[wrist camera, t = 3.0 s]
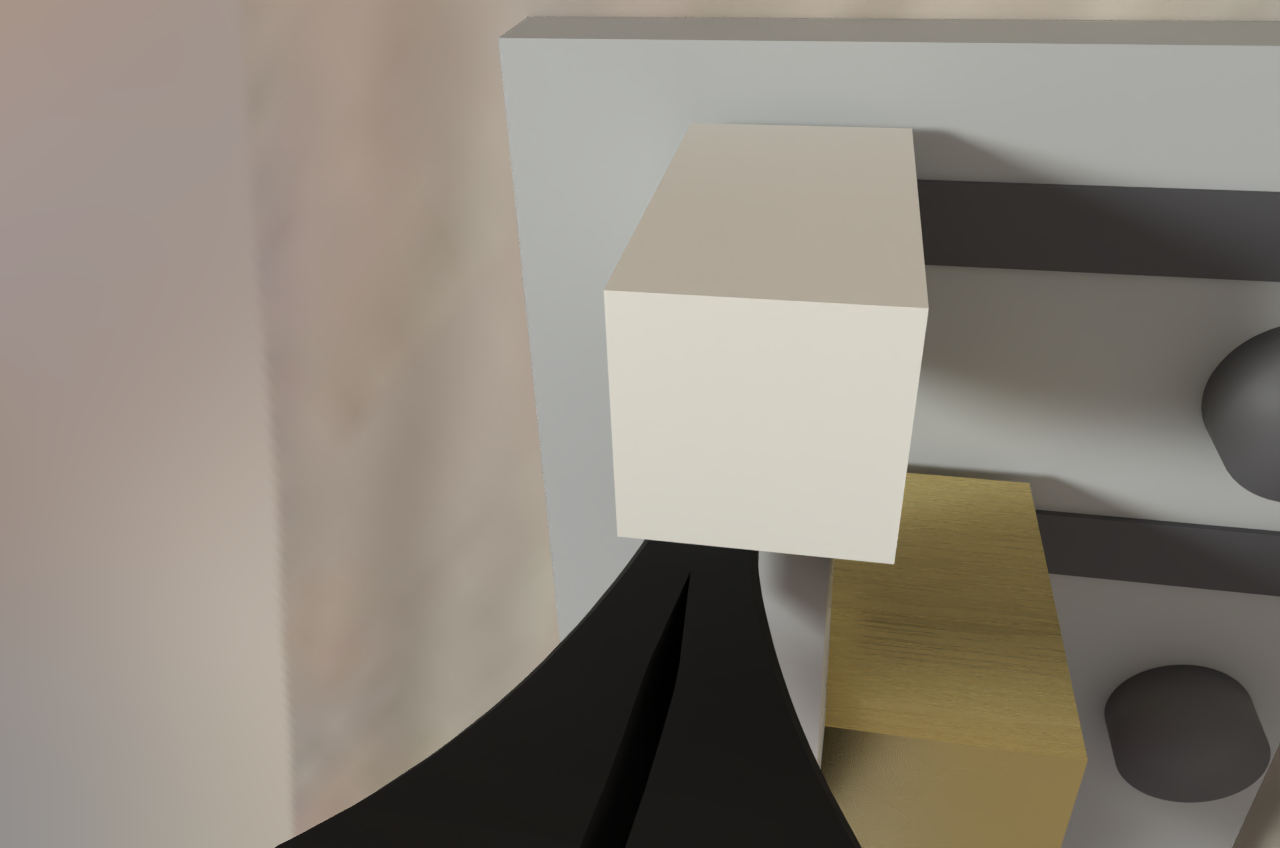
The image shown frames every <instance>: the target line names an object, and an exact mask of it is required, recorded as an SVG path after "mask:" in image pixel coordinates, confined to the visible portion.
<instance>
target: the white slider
mask: <svg viewBox="0 0 1280 848" xmlns="http://www.w3.org/2000/svg"><path fill="white" fill-rule="evenodd" d="M604 306H605V324H606V342H607V360H608V378H609V395H610V413H611V431H612V449H613V467H614V485H615V503H616V520H617V537H627V538H637V539H647V540H657V541H667V542H677V543H687V544H697V545H707V546H717V547H727V548H737V549H747V550H756V551H766V552H776V553H786V554H796V555H806V556H816V557H826V558H836V559H846V560H856V561H866V562H876V563H886V564H894V562H895V555H896V547H897V540H898V532H899V525H900V517H901V510H902V503H903V495H904V488H905V480H906V473H907V466H908V458H909V451H910V443H911V436H912V429H913V421H914V414H915V406H916V399H917V392H918V384H919V377H920V369H921V362H922V355H923V347H924V340H925V332H926V325H927V318H928V310H929V306H928V295H927V284H926V273H925V263H924V252H923V241H922V230H921V220H920V209H919V198H918V187H917V177H916V166H915V155H914V144H913V133H912V128H880V127H840V126H800V125H760V124H720V123H691V124H690V126H689V128H688V130H687V132H686V134H685V136H684V138H683V140H682V142H681V143H680V145H679V147H678V149H677V151H676V153H675V155H674V157H673V159H672V161H671V163H670V164H669V166H668V168H667V170H666V172H665V174H664V176H663V178H662V180H661V182H660V184H659V185H658V187H657V189H656V191H655V193H654V195H653V197H652V199H651V201H650V203H649V205H648V206H647V208H646V210H645V212H644V214H643V216H642V218H641V220H640V222H639V224H638V226H637V227H636V229H635V231H634V233H633V235H632V237H631V239H630V241H629V243H628V245H627V247H626V248H625V250H624V252H623V254H622V256H621V258H620V260H619V262H618V264H617V266H616V268H615V269H614V271H613V273H612V275H611V277H610V279H609V281H608V283H607V285H606V287H605V289H604Z"/></svg>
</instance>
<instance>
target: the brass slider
mask: <svg viewBox="0 0 1280 848" xmlns="http://www.w3.org/2000/svg"><path fill="white" fill-rule="evenodd" d="M1087 762H1088V759H1087V754H1086V749H1085V744H1084V740H1083V735H1082V730H1081V725H1080V721H1079V716H1078V711H1077V706H1076V702H1075V697H1074V692H1073V687H1072V683H1071V678H1070V673H1069V668H1068V664H1067V659H1066V654H1065V649H1064V645H1063V640H1062V635H1061V630H1060V626H1059V621H1058V616H1057V611H1056V607H1055V602H1054V597H1053V593H1052V588H1051V583H1050V578H1049V574H1048V569H1047V564H1046V559H1045V555H1044V550H1043V545H1042V540H1041V536H1040V531H1039V526H1038V521H1037V517H1036V512H1035V507H1034V502H1033V498H1032V493H1031V488H1030V483H1022V482H1010V481H999V480H987V479H975V478H963V477H951V476H939V475H928V474H916V473H906V480H905V488H904V495H903V503H902V510H901V517H900V525H899V532H898V540H897V547H896V555H895V562H894V564H886V563H876V562H866V561H856V560H846V559H836V558H831V562H830V573H829V584H828V595H827V608H826V625H825V641H824V657H823V673H822V690H821V706H820V722H819V738H818V754H817V763H818V765H819V767H820V769H821V771H822V773H823V776H824V778H825V780H826V782H827V784H828V786H829V788H830V790H831V792H832V794H833V796H834V798H835V799H836V801H837V803H838V805H839V807H840V809H841V810H842V812H843V814H844V816H845V818H846V820H847V821H848V823H849V825H850V827H851V829H852V831H853V832H854V834H855V836H856V838H857V840H858V842H859V844H860V845H861V847H862V848H1061V845H1062V842H1063V839H1064V835H1065V832H1066V829H1067V826H1068V823H1069V819H1070V816H1071V813H1072V810H1073V807H1074V803H1075V800H1076V797H1077V794H1078V791H1079V787H1080V784H1081V781H1082V778H1083V775H1084V771H1085V768H1086V765H1087Z"/></svg>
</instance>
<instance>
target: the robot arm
mask: <svg viewBox="0 0 1280 848" xmlns="http://www.w3.org/2000/svg"><path fill="white" fill-rule="evenodd" d="M758 563H759V551H756V550H747V549H737V548H727V547H717V546H707V545H697V544H687V543H677V542H667V541H657V540H647V539H645V540H644V541H643V543H642V544H641V546H640V547H639V549H638V550H637V551H636V553H635V554H634V556H633V557H632V558H631V560H630V561H629V562H628V564H627V565H626V566H625V568H624V569H623V570H622V572H621V573H620V574H619V576H618V577H617V578H616V579H615V581H614V582H613V583H612V584H611V586H610V587H609V588H608V589H607V590H606V592H605V593H604V594H603V595H602V596H601V598H600V599H599V600H598V601H597V602H596V604H595V605H594V606H593V607H592V609H591V610H590V611H589V612H588V613H587V614H586V616H585V617H584V618H583V619H582V620H581V621H580V622H579V624H578V625H577V626H576V627H575V628H574V629H573V630H572V631H571V632H570V633H569V634H568V635H567V636H566V637H565V638H564V640H563V641H562V642H561V643H560V644H559V645H558V646H557V647H556V648H555V649H554V650H553V651H552V652H551V653H550V654H549V655H548V656H547V658H546V659H545V660H544V661H543V662H542V663H541V664H540V665H539V666H537V667H536V668H535V669H534V670H533V671H532V672H531V673H530V674H529V675H528V676H527V677H526V678H525V679H524V680H523V681H522V682H521V683H520V684H519V685H517V686H516V687H515V688H514V689H513V690H512V691H511V692H510V693H508V694H507V695H506V696H505V697H504V698H503V699H502V700H501V701H499V702H498V703H497V704H496V705H495V706H494V707H492V708H491V709H490V710H489V711H488V712H486V713H485V714H484V715H483V716H481V717H480V718H479V719H478V720H476V721H475V722H474V723H473V724H471V725H470V726H469V727H468V728H466V729H465V730H464V731H463V732H461V733H460V734H459V735H458V736H456V737H455V738H454V739H452V740H451V741H450V742H448V743H447V744H446V745H444V746H443V747H442V748H440V749H439V750H438V751H436V752H435V753H433V754H432V755H431V756H429V757H428V758H426V759H425V760H423V761H422V762H420V763H419V764H417V765H416V766H414V767H413V768H411V769H410V770H408V771H407V772H405V773H404V774H402V775H401V776H399V777H398V778H396V779H395V780H393V781H391V782H390V783H388V784H387V785H385V786H384V787H382V788H381V789H379V790H378V791H376V792H375V793H373V794H372V795H370V796H368V797H367V798H365V799H363V800H362V801H360V802H359V803H357V804H355V805H353V806H352V807H350V808H348V809H346V810H344V811H342V812H341V813H339V814H337V815H335V816H333V817H331V818H329V819H328V820H326V821H324V822H322V823H320V824H318V825H316V826H315V827H313V828H311V829H309V830H307V831H305V832H303V833H302V834H300V835H298V836H296V837H294V838H292V839H290V840H288V841H286V842H284V843H282V844H280V845H278V846H277V847H275V848H862V847H861V845H860V844H859V842H858V840H857V838H856V836H855V834H854V832H853V831H852V829H851V827H850V825H849V823H848V821H847V820H846V818H845V816H844V814H843V812H842V810H841V809H840V807H839V805H838V803H837V801H836V799H835V798H834V796H833V794H832V792H831V790H830V788H829V786H828V784H827V782H826V780H825V778H824V776H823V773H822V771H821V769H820V767H819V765H818V763H817V761H816V758H815V756H814V754H813V752H812V750H811V747H810V745H809V743H808V740H807V738H806V736H805V733H804V731H803V728H802V726H801V724H800V721H799V718H798V716H797V713H796V711H795V708H794V705H793V703H792V700H791V697H790V695H789V692H788V689H787V686H786V683H785V680H784V677H783V674H782V671H781V668H780V664H779V661H778V658H777V654H776V651H775V648H774V644H773V640H772V636H771V632H770V628H769V624H768V620H767V616H766V612H765V607H764V602H763V597H762V591H761V584H760V577H759V568H758Z"/></svg>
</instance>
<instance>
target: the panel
mask: <svg viewBox="0 0 1280 848" xmlns="http://www.w3.org/2000/svg"><path fill="white" fill-rule="evenodd" d="M498 39H499V49H500V59H501V69H502V78H503V88H504V98H505V108H506V118H507V127H508V137H509V147H510V157H511V166H512V176H513V186H514V196H515V206H516V215H517V225H518V235H519V245H520V254H521V264H522V274H523V284H524V293H525V303H526V313H527V323H528V333H529V342H530V352H531V362H532V372H533V381H534V391H535V401H536V411H537V421H538V430H539V440H540V450H541V460H542V469H543V479H544V489H545V499H546V509H547V518H548V528H549V538H550V548H551V557H552V567H553V577H554V587H555V596H556V606H557V616H558V626H559V636H560V643H561V642H562V641H563V640H564V638H565V637H566V636H567V635H568V634H569V633H570V632H571V631H572V630H573V629H574V628H575V627H576V626H577V625H578V624H579V622H580V621H581V620H582V619H583V618H584V617H585V616H586V614H587V613H588V612H589V611H590V610H591V609H592V607H593V606H594V605H595V604H596V602H597V601H598V600H599V599H600V598H601V596H602V595H603V594H604V593H605V592H606V590H607V589H608V588H609V587H610V586H611V584H612V583H613V582H614V581H615V579H616V578H617V577H618V576H619V574H620V573H621V572H622V570H623V569H624V568H625V566H626V565H627V564H628V562H629V561H630V560H631V558H632V557H633V556H634V554H635V553H636V551H637V550H638V549H639V547H640V546H641V544H642V543H643V541H644V540H645V539H637V538H627V537H617V520H616V503H615V485H614V467H613V449H612V431H611V413H610V395H609V378H608V360H607V342H606V324H605V306H604V289H605V287H606V285H607V283H608V281H609V279H610V277H611V275H612V273H613V271H614V269H615V268H616V266H617V264H618V262H619V260H620V258H621V256H622V254H623V252H624V250H625V248H626V247H627V245H628V243H629V241H630V239H631V237H632V235H633V233H634V231H635V229H636V227H637V226H638V224H639V222H640V220H641V218H642V216H643V214H644V212H645V210H646V208H647V206H648V205H649V203H650V201H651V199H652V197H653V195H654V193H655V191H656V189H657V187H658V185H659V184H660V182H661V180H662V178H663V176H664V174H665V172H666V170H667V168H668V166H669V164H670V163H671V161H672V159H673V157H674V155H675V153H676V151H677V149H678V147H679V145H680V143H681V142H682V140H683V138H684V136H685V134H686V132H687V130H688V128H689V126H690V124H691V123H720V124H760V125H800V126H840V127H880V128H912V133H913V144H914V155H915V166H916V177H917V187H918V198H919V209H920V220H921V230H922V241H923V252H924V263H925V273H926V284H927V295H928V306H929V310H928V318H927V325H926V332H925V340H924V347H923V355H922V362H921V369H920V377H919V384H918V392H917V399H916V406H915V414H914V421H913V429H912V436H911V443H910V451H909V458H908V466H907V473H916V474H928V475H939V476H951V477H963V478H975V479H987V480H999V481H1010V482H1022V483H1030V488H1031V493H1032V498H1033V502H1034V507H1035V512H1036V517H1037V521H1038V526H1039V531H1040V536H1041V540H1042V545H1043V550H1044V555H1045V559H1046V564H1047V569H1048V574H1049V578H1050V583H1051V588H1052V593H1053V597H1054V602H1055V607H1056V611H1057V616H1058V621H1059V626H1060V630H1061V635H1062V640H1063V645H1064V649H1065V654H1066V659H1067V664H1068V668H1069V673H1070V678H1071V683H1072V687H1073V692H1074V697H1075V702H1076V706H1077V711H1078V716H1079V721H1080V725H1081V730H1082V735H1083V740H1084V744H1085V749H1086V754H1087V759H1088V762H1087V765H1086V768H1085V771H1084V775H1083V778H1082V781H1081V784H1080V787H1079V791H1078V794H1077V797H1076V800H1075V803H1074V807H1073V810H1072V813H1071V816H1070V819H1069V823H1068V826H1067V829H1066V832H1065V835H1064V839H1063V842H1062V845H1061V848H1232V847H1233V845H1234V842H1235V840H1236V838H1237V836H1238V834H1239V832H1240V829H1241V827H1242V825H1243V823H1244V821H1245V819H1246V816H1247V814H1248V812H1249V810H1250V808H1251V806H1252V803H1253V801H1254V799H1255V797H1256V795H1257V792H1258V790H1259V788H1260V786H1261V784H1262V782H1263V779H1264V777H1265V775H1266V773H1267V771H1268V769H1269V766H1270V764H1271V762H1272V760H1273V758H1274V756H1275V753H1276V751H1277V749H1278V747H1279V745H1280V21H1129V20H969V19H808V18H647V17H527V18H526V19H524V20H523V21H521V22H520V23H519V24H517V25H516V26H514V27H513V28H512V29H510V30H509V31H507V32H506V33H505V34H503V35H502V36H500V37H499V38H498ZM830 562H831V558H826V557H816V556H806V555H796V554H786V553H776V552H766V551H759V563H758V568H759V577H760V584H761V591H762V597H763V602H764V607H765V612H766V616H767V620H768V624H769V628H770V632H771V636H772V640H773V644H774V648H775V651H776V654H777V658H778V661H779V664H780V668H781V671H782V674H783V677H784V680H785V683H786V686H787V689H788V692H789V695H790V697H791V700H792V703H793V705H794V708H795V711H796V713H797V716H798V718H799V721H800V724H801V726H802V728H803V731H804V733H805V736H806V738H807V740H808V743H809V745H810V747H811V750H812V752H813V754H814V756H815V758H816V761H817V754H818V738H819V722H820V706H821V690H822V673H823V657H824V641H825V625H826V608H827V595H828V584H829V573H830Z"/></svg>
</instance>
